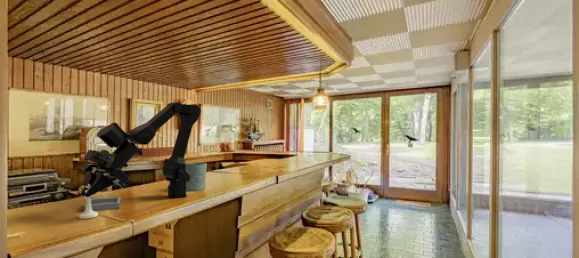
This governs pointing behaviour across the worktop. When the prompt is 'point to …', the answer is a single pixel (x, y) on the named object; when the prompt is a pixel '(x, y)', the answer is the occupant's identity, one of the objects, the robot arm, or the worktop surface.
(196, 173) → the grey cylinder
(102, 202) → the tray
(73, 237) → the worktop surface
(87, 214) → the chess piece
